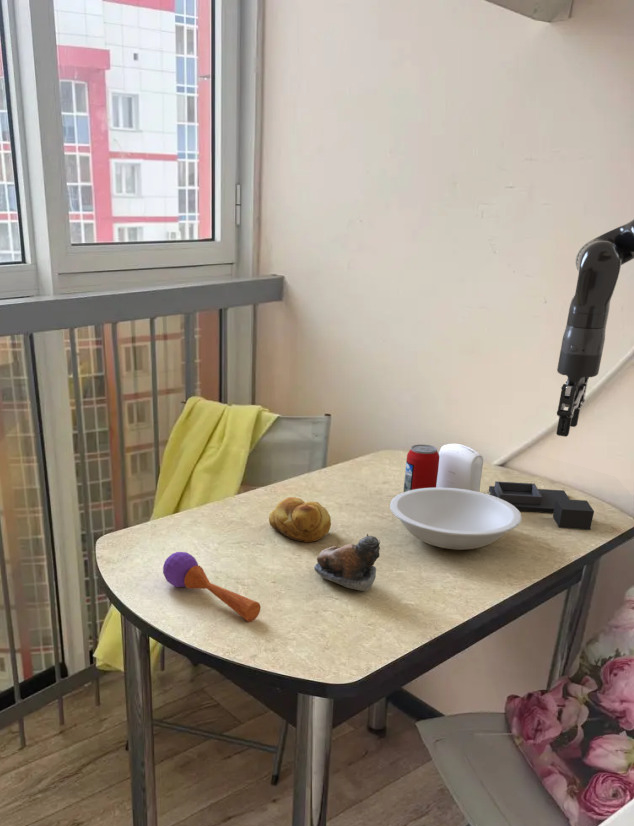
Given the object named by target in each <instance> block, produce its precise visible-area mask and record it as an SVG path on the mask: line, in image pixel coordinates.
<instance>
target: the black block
mask: <svg viewBox="0 0 634 826" xmlns="http://www.w3.org/2000/svg"><path fill="white" fill-rule="evenodd" d="M569 499H570V498H569ZM569 499H556V502H555V507H554V512H553V513H552V518H553V520H554V522H555V523H556V525H557V527H558V528H559V529H574V530H587V531H589V530H591V529H592V524H593V518H594V514H595V510H594V509H593V508H592V506H591V504H590V503H589V502H588V500H586V499H585V500H582V499H570V500H569Z"/></svg>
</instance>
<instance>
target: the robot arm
mask: <svg viewBox="0 0 634 826" xmlns="http://www.w3.org/2000/svg"><path fill="white" fill-rule="evenodd" d="M632 260H634V218H633V219H632V220H630V221H629V222H627V223H625V224H623V225H620V226H617V227H616V228H614V229H611V230H609V231H607V232H605V233H603V234H600V235H598V236H596V237H595V238H593V239H591V240H589V241H587V242H586V243H585V244H583V245H582V246H581V248H580V249H579V250H578V252H577V254H576V256H575V268H576V270H577V272H578V275H577V280H576V281H577V283H576V286H575V293H574V295H573V297H572V298H571V301H570V303H569V309H568V314H567V320H566V325H565V329H564V332H563V335H562V339H561V345H560V351H559V357H558V363H557V368H556V370H557V371H556V372H557V374H559V375H562V376H566V377H567V379H566V381H565V383H563V384H562V386H561V387H560V390H561V391H560V397H559V401H558V406H557V411H556V416H558V420H557V421H558V423H557V428H556V435H557V437H558V436H559V437H564V438H565V437H568V436H569V435H570V430H571V427H572V428H576V427H577V426H578V423H579V418H580V412H581V409H582V407H583V404H584V403H585V401H586V400H585V398H586V393H587V389H588V381H589V378H593V377H596V376H598V375H599V372H600V368H601V367H600V366H601V362H602V357H603V351H604V348H605V347H604V346H605V342H606V341H605V340H606V329H607V328H606V327H607V325H608V319H609V313H610V306H611V300H612V297H613V295H614V291H615V288H616V286H617V282H618V279H619V275H620V272H621V266H622V265H625V264H627V263H628V262H630V261H632ZM565 408H567V409H565Z"/></svg>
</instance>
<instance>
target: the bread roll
mask: <svg viewBox="0 0 634 826" xmlns="http://www.w3.org/2000/svg"><path fill="white" fill-rule="evenodd" d="M268 522H269V525H270V526H271V528H272V529H274V530H275V531H278V532H280V533H281V534H282V535H284V536H286V537H287V538H289V539H291V540H295V541H298V542H304V543H311V542H317V541H319V540H320V539H323V538H324V537H325V536H326V535H327V534H329V532H330V530H331V526H332V520H331V516H330V513H329V511H328V510H327V508H326V507H325V506H323V505H322V504H321V503H319V502H318V501H307V502H305V501H304V500H303V499H302V498H299V497H293V496H289V497H286V498H285V499H283V500H281V501H280V502H279V503H277V505H276V506H275V508H274V509H273V510H271V512H270V513H269V515H268Z"/></svg>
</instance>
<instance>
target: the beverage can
mask: <svg viewBox="0 0 634 826" xmlns="http://www.w3.org/2000/svg"><path fill="white" fill-rule="evenodd" d="M439 458H440V457H439V452H438V448H437V447H435V446H434V445H430V444H413V445H412V446H410V449H409V451H408V452H407V453H406V460H405V461H406V462H405V470H404V481H403V482H404V483H403V492H406V491H410V490H414V489H421V488H435V487H436V484H437V476H438V467H439ZM403 492H402V493H403Z"/></svg>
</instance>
